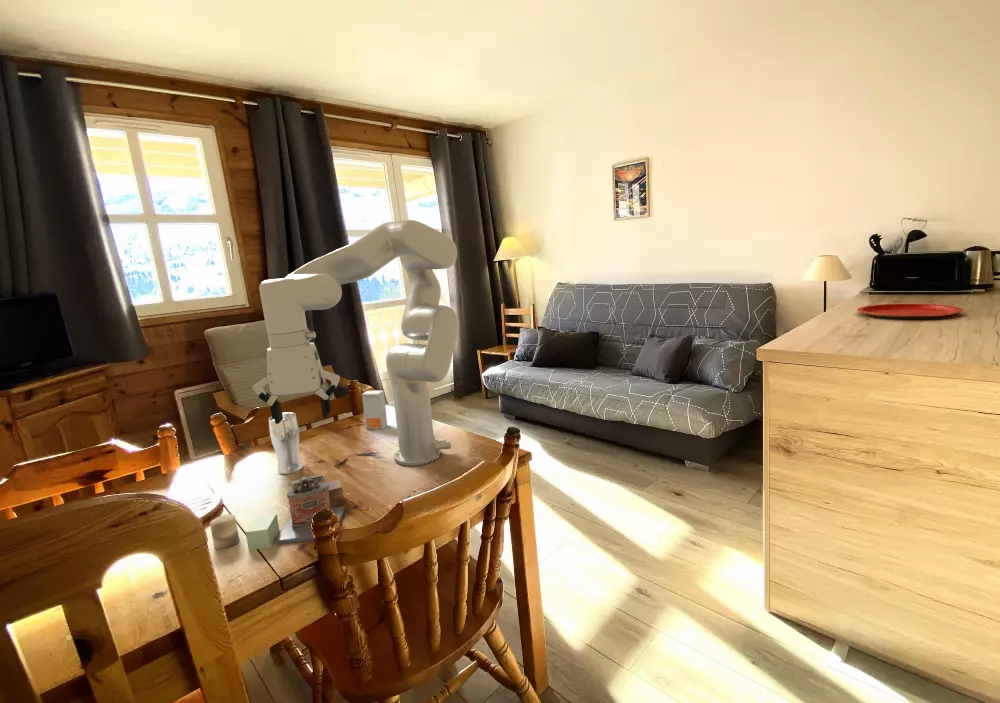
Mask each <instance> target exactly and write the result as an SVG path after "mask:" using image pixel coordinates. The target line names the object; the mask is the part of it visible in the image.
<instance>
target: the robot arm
mask: <svg viewBox="0 0 1000 703" xmlns="http://www.w3.org/2000/svg"><path fill="white" fill-rule="evenodd" d="M397 258H399V260H400V263H401V264H402V266H403V268H404V270H405V272H406V274H407V277H408V280H409V281H408V282H409V291H408V295H407V300H406V303H405V307H404V311H403V315H402V319H401V324H400V325H401V333H402V334H403V336H404V337H406V338H407V339H410V340H413V341H422V342H423V341H426V344H420V343H411V342H409V343H408V342H407V343H399V344H396V345H394V346H393V347H391V348H390V349H389V351H388V353H387V355H386V357H385V358H386V359H385V365H386V370H387V373H388V376H389V380H390V383H391V387H392V394H393V395H392V396H393V401H394V404H393V405H394V411H395V420H396V429H397V430H396V431H397V438H398V448H399V449H398V450H396V452H395V453H394V458H393V459H394V461H395V462H396V463H397V464H398V465H401V466H407V467H408V466H409V467H410V466H411V467H412V466H413V467H414V466H422V465H426V464H425V463H427V462H430V461H432V460H434V459H435V458H437V457H438V456H439V455H440V456H441V454H440V452H441V450H450V449H452V445H451V443H452V442H451V441H447V440H446V439H442V440H438V439H436V435H434V429H433V428H434V427H433V419H432V418H433V417H432V406H431V395H430V390H429V386H428V385H427V383H438V382H441V381H443V380H444V379H445V378H446V376H447V374H448V373H449V371H450V367H451V365H452V364H451V363H452V359H453V354H454V350H455V346H456V341H457V337H458V333H459V320H458V319H459V318H458V316H457V313H456V312H455V310H454V309H453V308H451V307H450V306H448V305H443V304H440V299H441V294H442V289H441V285H440V282H439V280H438V278H437V275H436V274H435V272H434V270H446V269H449V268H451V267H452V266H453V265H454V264H455V263H456V262H457V258H458V249H457V245H456V242H454V240H453V239H452V238H451V237H450V236H448V235H447V234H445V233H443V232H441V231H439V230H438V229H435V228H433V227H431V226H429V225H427V224H425V223H423V222H420V221H417V220H413V219H405V220H399V221H397V220H396V221H388V222H384V223H382V224H380V225H377V226H376V227H374V228H373V229H371V230H369V231H368V232H367V233H365V234H364V235H362V236H360V237H359V238H357V239H356V240H354V241H352V242H350V243H349V244H347V245H345V246H342V247H340V248H338V249H335V250H334V251H332V252H329V253H327V254H325V255H322V256H321V257H318V258H315V259H313V260H311V261H309V262H307V263H306V264H304V265H301V267H299V268H297V269H296V270H294V271H293V272H291V273H289V274H287V275H286V276H285V277H283V278H273V279H266V280H263V281H261V283H260V284H259V287H258V289H259V295H260V301H261V306H262V311H263V317H264V323H265V327H266V334H267V338H268V345H269V347H268V348H267V350H266V371H267V374H266V375H267V376H265V377H264V378H263V379H261V380H260V381H258V382H256V383H255V384H253V385H252V388H251V389H252V390H253V391H254V393H255V394H256V395H257V396H258V398H259V400H261V401H262V402H264V403H266V405H267V406H269V409H270V414H271V416H272V419H275V424H279V423H280V422H281V420H282V419H283V414H282V413H283V410H282V404H281V402H280V401H279V398H280V397H285V396H293V395H303V394H304V395H305V394H311V393H316V395H318V396H319V397H320V398H321V400H320V407H321V414H322V417H323V419H328V417H329V415H330V414H331V413H332V405H331V398H330V397H331V395H333V393H334V392H335V390H336V389H337V387H338V384H339V382H340V379H341V376H340V375H339V374H336V373H333V372H331V371H326V370H324V369H323V368H322V364H321V360H320V355H319V353H318V350H317V347H316V345H315V343H314V342H310V341H311V340H313V339H316V337H317V334H316V331H311V330H309V328H308V324H307V320H306V313H305V312H306V311H317V310H319V311H320V310H321V311H322V310H324V311H325V310H328V309H331V308H333V307H335V306H336V305H337V304H338V303H339V302H340V301H341V298H342V295H343V290H342V285H345V284H349V283H355V282H358V281H359V282H360V281H361V280H364V279H367V278H370V277H372V276H373V275H374V274H376V272H378V271H380V270H381V269H382V268H383V267H385V266H386V265H387V264H389V263H391V262H392V261H393V260H395V259H397ZM325 379H326V380H329V381H330V386H329V387H328V388H327V387H326V386H324V384H325ZM266 385H268V387H269V391H270V393H271V394H270V393H269V392H267V391H265V389H264V387H265V386H266ZM441 453H442V452H441ZM440 456H439V457H440ZM439 457H438V458H439ZM438 458H437V459H438ZM434 461H435V460H434ZM432 462H433V461H432ZM430 463H431V462H430ZM427 464H428V463H427Z"/></svg>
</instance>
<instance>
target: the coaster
mask: <svg viewBox="0 0 1000 703" xmlns="http://www.w3.org/2000/svg"><path fill="white" fill-rule="evenodd" d="M331 510H332V511H333V513H334V514H335V515H336V516H338V518H339V521H340V523H341V522H342V519H343V516H344V513H345V511H346V507H345V505H343V506H339V507H333V508H331ZM276 538H277V539H275V540H276V544H277V545H281V544H288V543H297V542H306V541H315V540H314V537H313V534H312V531H311V526H310V527H306V528H300V529H293V528H292V517H291V516H290V517H289V518H288V520H287V521H286V523H285V525H284V527H283V528H282V530H281V532H280V533H279V535H278V537H276Z"/></svg>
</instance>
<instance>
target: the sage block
mask: <svg viewBox="0 0 1000 703" xmlns="http://www.w3.org/2000/svg"><path fill="white" fill-rule="evenodd" d="M279 525H280V524H279V519H278V513H269V514H261V515H256V516H254V519H253V520H252V521H251V523H250V525H249V526H248V527H247V529H246V530H245V532H244V533H245V537H246V544H247V550H248V551H250V550H259V549H267V548H271V547H272V545H273V543H274V541H275V540H276V538H277V536H278V534H279V532H280V526H279Z"/></svg>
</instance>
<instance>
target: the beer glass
mask: <svg viewBox="0 0 1000 703" xmlns="http://www.w3.org/2000/svg"><path fill="white" fill-rule="evenodd" d="M282 414H283V419H282V420H281V422H280V423H279V424H275V419H272V415H271V416H270V417H269V418H268V427H269V436H270V440H271V443H272V446H273V449H274V451H275V454H276V457H277V472H278V474H280V475H290V474H293V473H297V472H299V471H301V469H302V468H303V462H302V461H301V458H300V452H299V451H300V430H299V429H300V428H299V424H298V419H297V416H296V413H295V412H292V411H291V412H290V411H289V412H287V411H286V412H282Z"/></svg>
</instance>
